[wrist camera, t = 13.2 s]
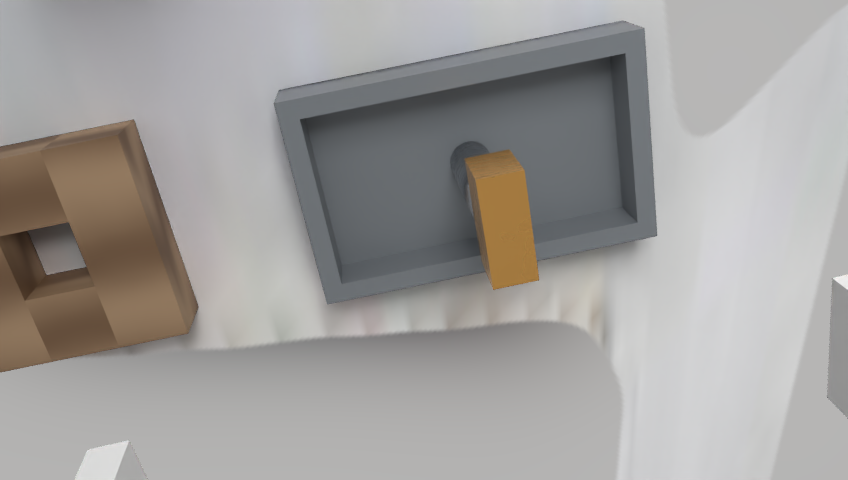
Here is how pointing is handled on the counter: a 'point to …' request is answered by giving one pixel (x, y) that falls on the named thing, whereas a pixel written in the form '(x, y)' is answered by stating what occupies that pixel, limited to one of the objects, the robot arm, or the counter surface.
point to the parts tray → (482, 122)
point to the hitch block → (87, 249)
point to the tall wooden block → (498, 212)
